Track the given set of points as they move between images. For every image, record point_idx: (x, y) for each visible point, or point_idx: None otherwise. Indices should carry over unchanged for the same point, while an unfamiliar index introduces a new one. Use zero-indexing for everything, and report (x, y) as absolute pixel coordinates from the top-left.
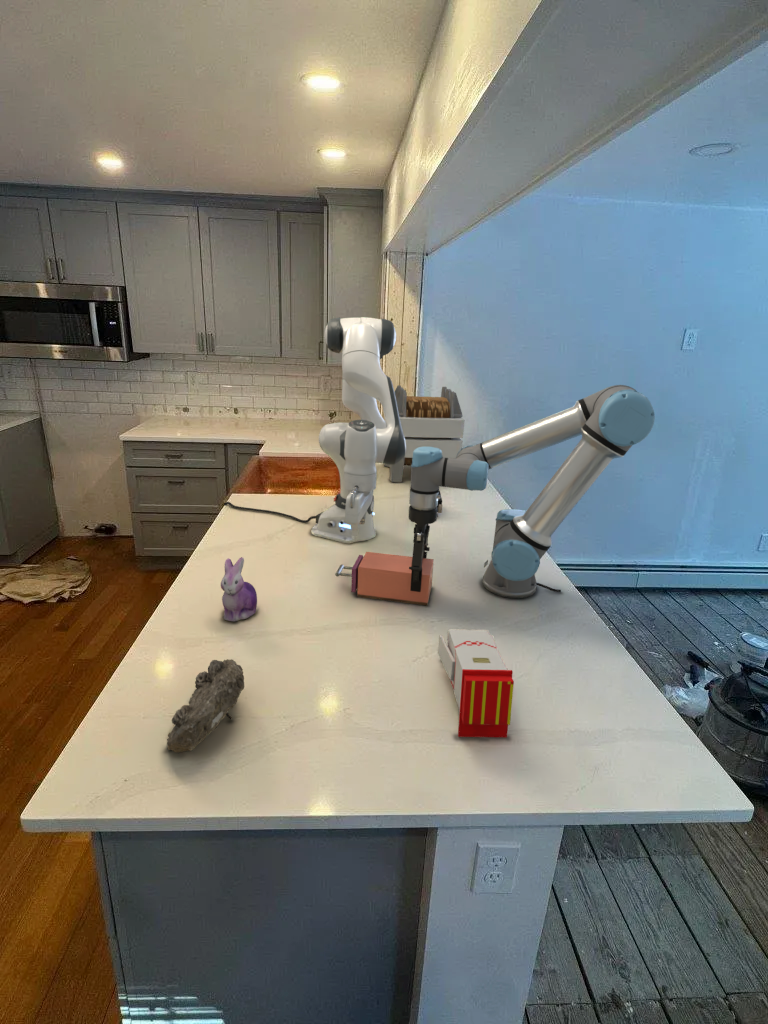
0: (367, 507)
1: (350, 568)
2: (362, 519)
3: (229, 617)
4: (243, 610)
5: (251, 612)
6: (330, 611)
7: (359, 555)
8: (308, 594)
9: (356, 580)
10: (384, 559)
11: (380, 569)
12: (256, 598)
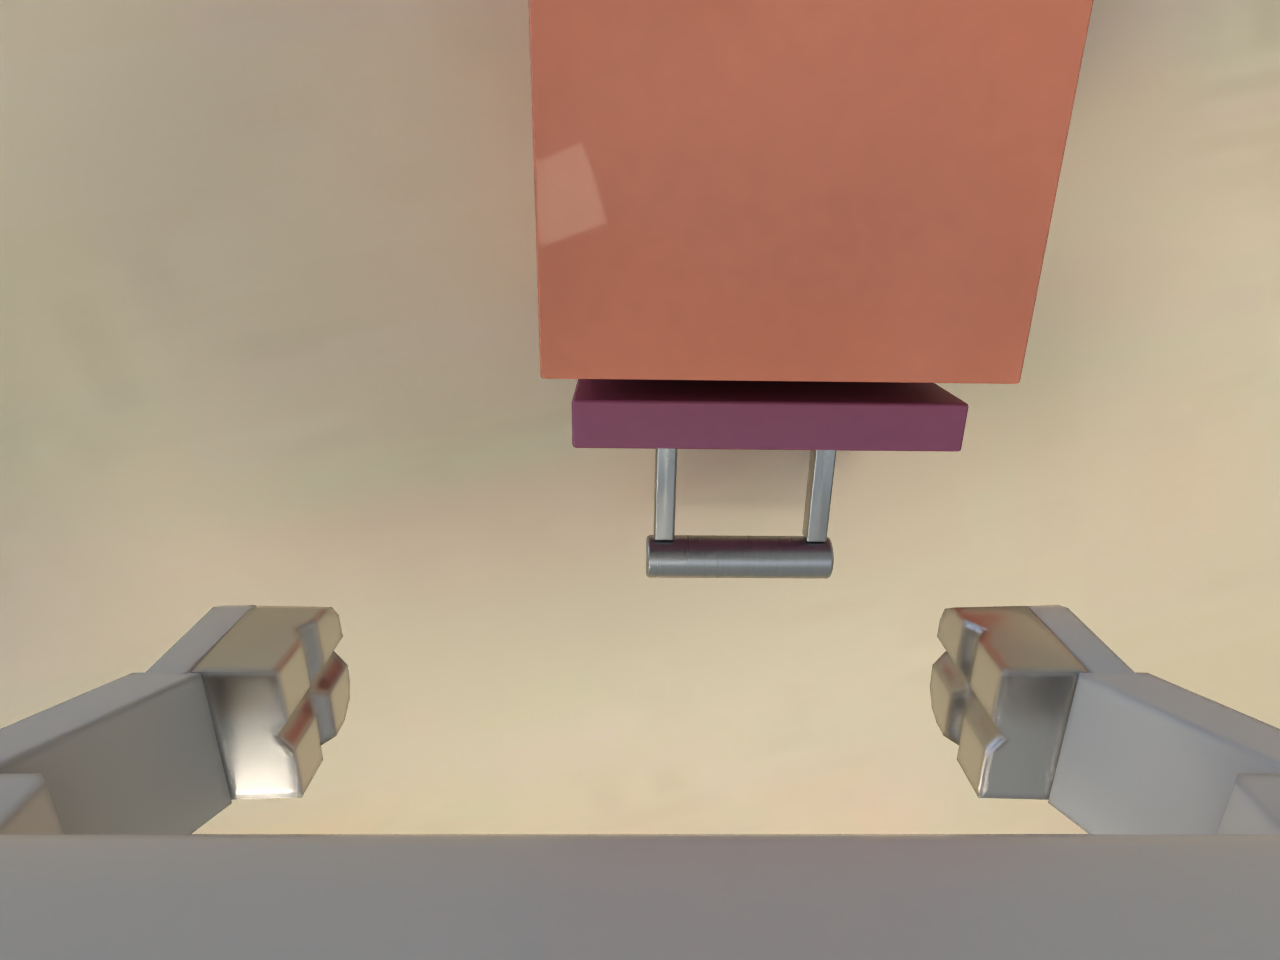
0: (169, 932)
1: (675, 474)
2: (293, 704)
3: None
4: None
5: None
6: (1133, 465)
7: (593, 441)
8: (896, 661)
9: None
10: (734, 72)
11: (1075, 73)
12: None
